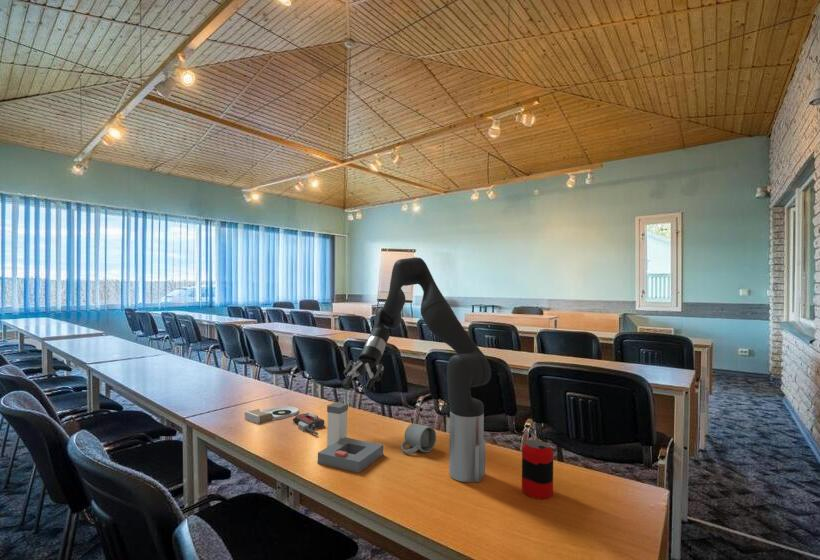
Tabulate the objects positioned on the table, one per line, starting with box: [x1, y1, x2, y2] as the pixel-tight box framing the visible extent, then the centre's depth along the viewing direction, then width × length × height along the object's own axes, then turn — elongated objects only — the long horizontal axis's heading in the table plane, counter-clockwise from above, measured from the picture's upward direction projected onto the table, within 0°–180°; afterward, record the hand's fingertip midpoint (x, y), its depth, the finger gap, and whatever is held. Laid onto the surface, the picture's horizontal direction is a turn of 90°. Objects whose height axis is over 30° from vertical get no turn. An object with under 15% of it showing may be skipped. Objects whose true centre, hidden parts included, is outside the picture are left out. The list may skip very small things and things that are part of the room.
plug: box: [326, 401, 349, 447], centre depth 134 cm, size 5×5×13 cm
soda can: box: [521, 439, 554, 500], centre depth 105 cm, size 8×8×12 cm
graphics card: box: [243, 405, 299, 425], centre depth 164 cm, size 12×3×20 cm
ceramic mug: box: [400, 423, 437, 455], centre depth 131 cm, size 11×8×8 cm
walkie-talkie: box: [292, 412, 325, 436], centre depth 151 cm, size 9×4×20 cm
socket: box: [317, 437, 384, 474], centre depth 123 cm, size 14×14×4 cm
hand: (356, 388), depth 144 cm, fingers open, 8 cm apart
